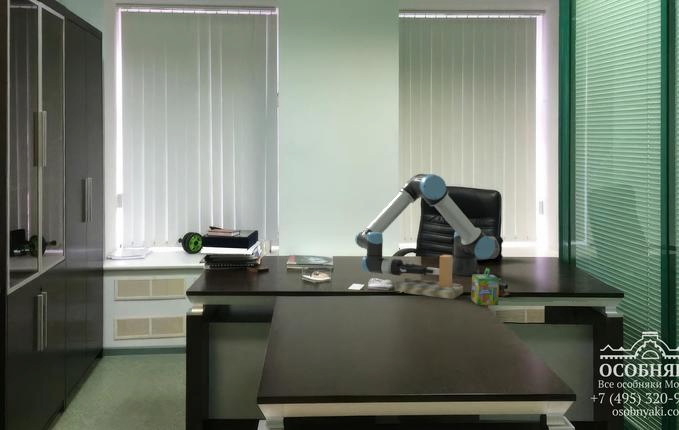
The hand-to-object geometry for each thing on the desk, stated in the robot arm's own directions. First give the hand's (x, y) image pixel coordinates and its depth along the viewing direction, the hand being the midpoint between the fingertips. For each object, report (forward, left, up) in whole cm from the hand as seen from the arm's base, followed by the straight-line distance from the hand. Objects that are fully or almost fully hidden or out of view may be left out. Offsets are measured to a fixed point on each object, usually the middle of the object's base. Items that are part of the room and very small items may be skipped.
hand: (440, 271), depth 261 cm
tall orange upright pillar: (-2, +2, -6) cm, 7 cm away
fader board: (+4, -4, -10) cm, 12 cm away
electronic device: (-24, +9, -10) cm, 28 cm away
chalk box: (-11, +20, -10) cm, 25 cm away
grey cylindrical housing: (-58, -72, -10) cm, 93 cm away
